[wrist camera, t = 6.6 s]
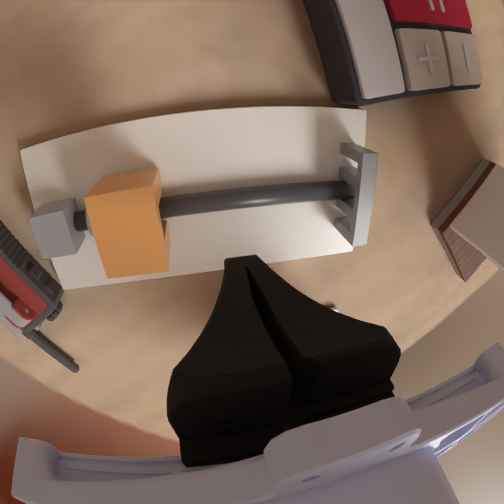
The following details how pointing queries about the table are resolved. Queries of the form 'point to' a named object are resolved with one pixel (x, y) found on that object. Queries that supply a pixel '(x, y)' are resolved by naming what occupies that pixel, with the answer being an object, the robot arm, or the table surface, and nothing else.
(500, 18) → the table surface
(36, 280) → the walkie-talkie
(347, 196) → the board
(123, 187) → the orange block
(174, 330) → the table surface
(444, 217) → the white box tower
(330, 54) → the calculator
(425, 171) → the table surface
